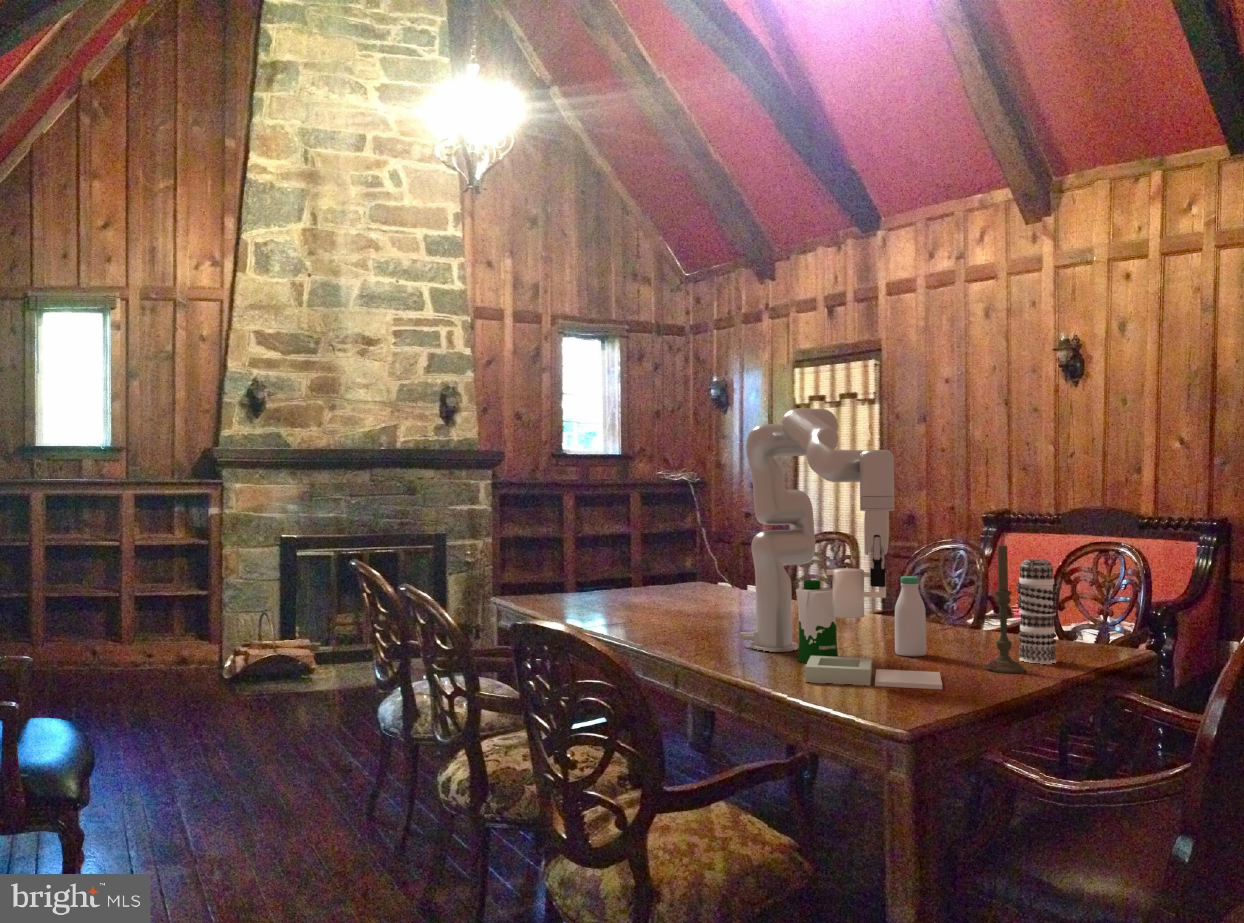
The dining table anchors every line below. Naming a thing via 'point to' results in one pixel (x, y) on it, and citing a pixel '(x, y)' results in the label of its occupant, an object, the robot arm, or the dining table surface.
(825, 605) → the milk carton
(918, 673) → the tile
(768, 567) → the robot arm
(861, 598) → the capsule with loop handle
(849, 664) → the holder
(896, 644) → the milk bottle
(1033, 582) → the decorative candle
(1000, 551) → the candlestick holder
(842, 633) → the dining table surface
